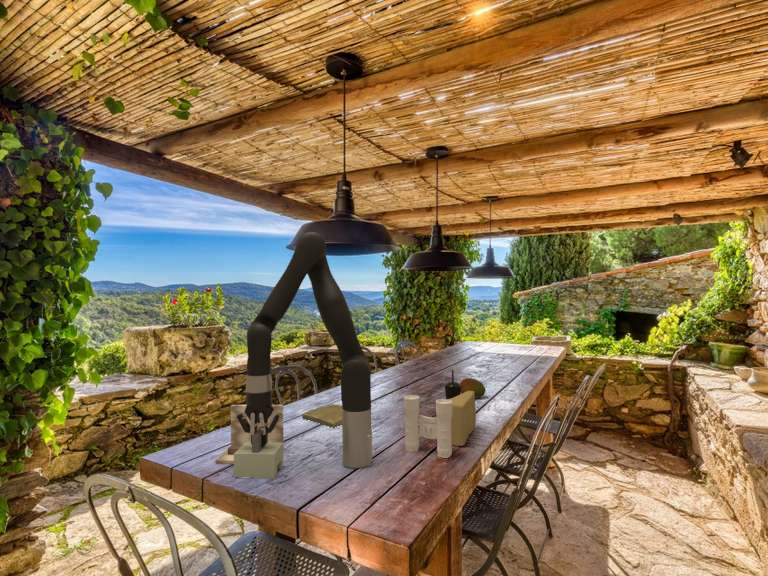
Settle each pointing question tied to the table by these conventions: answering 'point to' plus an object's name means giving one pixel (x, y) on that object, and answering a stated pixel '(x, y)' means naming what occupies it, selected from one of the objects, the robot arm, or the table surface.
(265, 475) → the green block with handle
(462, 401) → the cheese
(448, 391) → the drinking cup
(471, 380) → the fruit
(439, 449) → the binoculars
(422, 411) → the table surface
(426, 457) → the table surface
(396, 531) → the table surface
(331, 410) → the decorative tile
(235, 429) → the wooden stand
